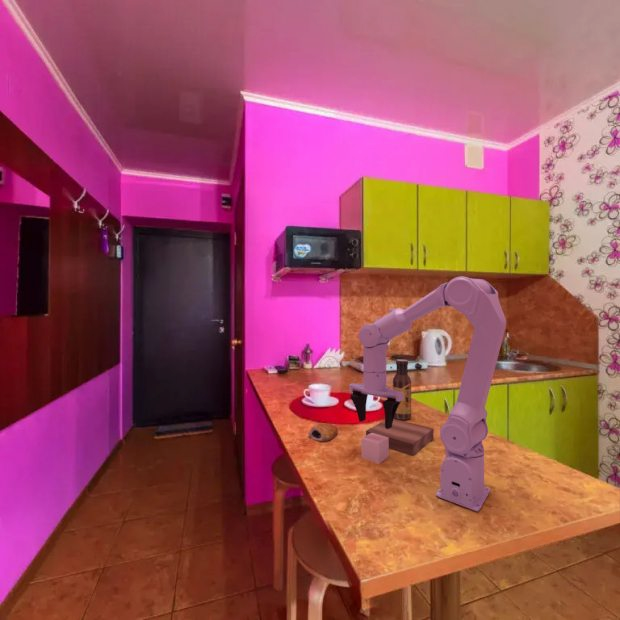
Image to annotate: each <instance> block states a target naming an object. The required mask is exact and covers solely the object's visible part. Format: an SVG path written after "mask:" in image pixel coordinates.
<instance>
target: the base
mask: <svg viewBox="0 0 620 620" xmlns="http://www.w3.org/2000/svg"><path fill="white" fill-rule="evenodd" d="M370 433H375V434H378V435H382V436H385V437H389V450H390V449H391V450H394V451H397V452H400V453H404V454H407V455H409V456H415V455H416V454H417V453H418V452H419V451H420V450H422V449H423V448H424V447H425V446H427V444H429V443H430V442H431V441H433V440H434V428H433V427H429V426H426V425H425V426H424V425H421V424H417V423H412V422H407V421H405V420H401V419H396V418H394V419H393V423H392V427H391V428H389V429H386V428H385V419H384V420H383V421H381V422H378V423H376V424H375V425H373V426H372V427H370V428H368V429H366V430H365V436H367V435H368V434H370Z"/></svg>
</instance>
